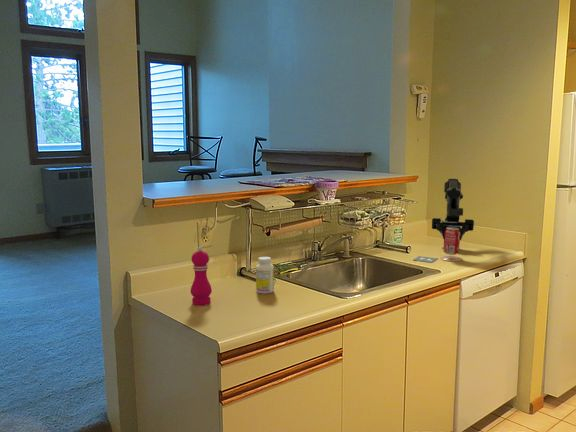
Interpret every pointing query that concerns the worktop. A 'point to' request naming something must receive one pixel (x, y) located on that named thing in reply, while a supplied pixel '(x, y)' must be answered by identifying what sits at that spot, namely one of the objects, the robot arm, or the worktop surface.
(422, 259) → the coaster
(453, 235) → the soda can
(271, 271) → the supplement bottle
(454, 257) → the disc
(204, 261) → the pepper mill
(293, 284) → the worktop surface
